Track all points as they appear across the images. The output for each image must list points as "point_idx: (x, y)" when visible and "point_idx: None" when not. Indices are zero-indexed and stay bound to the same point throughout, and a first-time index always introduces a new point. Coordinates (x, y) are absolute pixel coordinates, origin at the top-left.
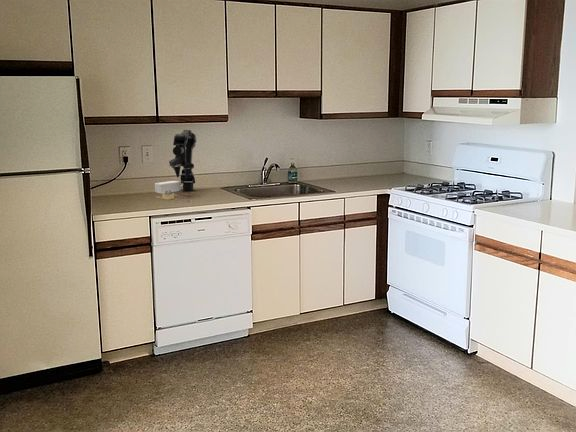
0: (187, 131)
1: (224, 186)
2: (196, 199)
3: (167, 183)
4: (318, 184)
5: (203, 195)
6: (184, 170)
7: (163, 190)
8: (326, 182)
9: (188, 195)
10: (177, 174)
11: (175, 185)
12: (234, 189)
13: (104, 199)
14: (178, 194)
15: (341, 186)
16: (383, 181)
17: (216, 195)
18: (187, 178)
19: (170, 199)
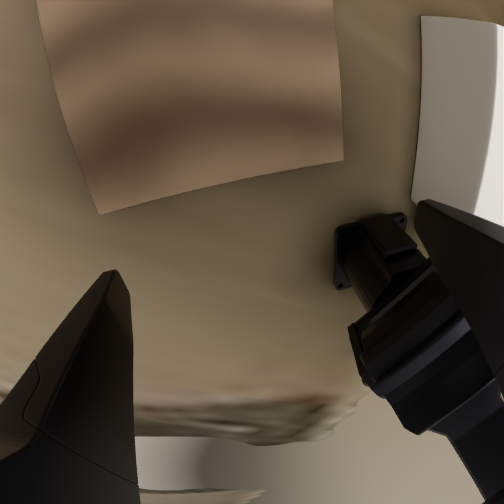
0: None
1: (343, 405)
2: (12, 186)
3: (493, 112)
4: (189, 495)
5: (164, 290)
6: (7, 449)
7: (446, 45)
8: (203, 499)
9: (153, 168)
10: (455, 238)
11: (455, 191)
12: (251, 422)
13: None
14: (276, 103)
15: (144, 500)
16: None
17: None
18: (393, 327)
19: None
